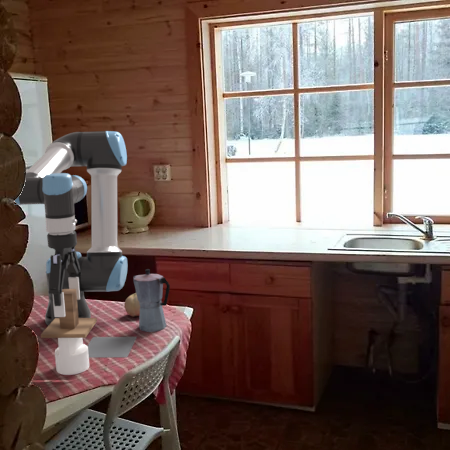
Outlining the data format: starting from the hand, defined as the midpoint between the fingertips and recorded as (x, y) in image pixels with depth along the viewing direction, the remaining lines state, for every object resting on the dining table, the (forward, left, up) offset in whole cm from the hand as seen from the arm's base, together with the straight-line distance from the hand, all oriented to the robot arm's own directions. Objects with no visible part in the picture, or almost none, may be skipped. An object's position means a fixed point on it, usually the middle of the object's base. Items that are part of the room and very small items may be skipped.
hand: (67, 307), depth 161 cm
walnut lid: (0, 0, -6) cm, 6 cm away
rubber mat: (-14, +7, -18) cm, 24 cm away
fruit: (-42, +10, -18) cm, 47 cm away
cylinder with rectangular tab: (0, 0, -18) cm, 18 cm away
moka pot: (-30, +18, -18) cm, 40 cm away
